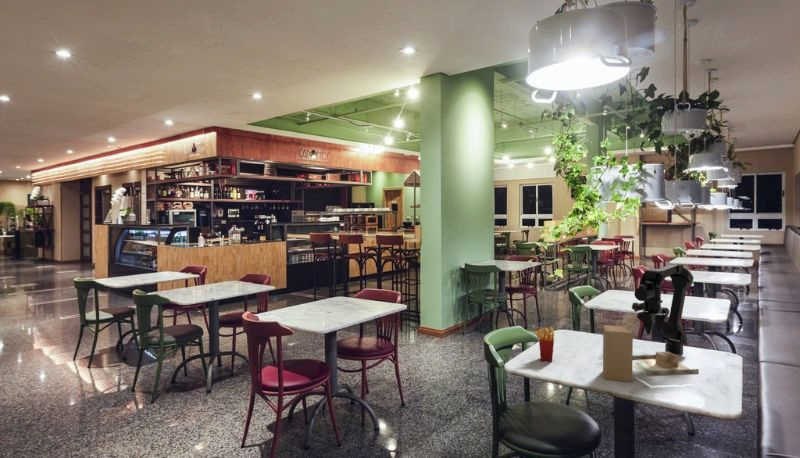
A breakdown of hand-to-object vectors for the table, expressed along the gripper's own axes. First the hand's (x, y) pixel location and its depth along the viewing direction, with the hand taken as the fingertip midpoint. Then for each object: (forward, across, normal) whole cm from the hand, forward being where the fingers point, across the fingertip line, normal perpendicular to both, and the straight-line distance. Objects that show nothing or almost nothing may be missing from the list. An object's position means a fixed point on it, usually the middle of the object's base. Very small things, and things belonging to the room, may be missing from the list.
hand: (653, 332), depth 205 cm
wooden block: (+13, +30, -1) cm, 33 cm away
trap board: (+13, +6, +5) cm, 15 cm away
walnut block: (+13, +3, +7) cm, 15 cm away
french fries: (+13, +34, -33) cm, 49 cm away
